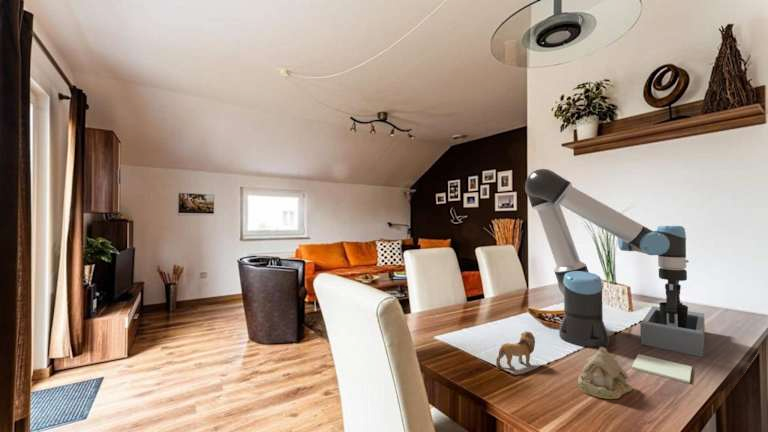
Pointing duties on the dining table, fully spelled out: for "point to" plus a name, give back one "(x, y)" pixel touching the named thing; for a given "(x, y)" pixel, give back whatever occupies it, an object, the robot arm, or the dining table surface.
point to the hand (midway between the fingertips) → (674, 327)
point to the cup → (681, 313)
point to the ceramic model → (603, 376)
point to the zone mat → (663, 368)
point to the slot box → (674, 333)
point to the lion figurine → (517, 349)
